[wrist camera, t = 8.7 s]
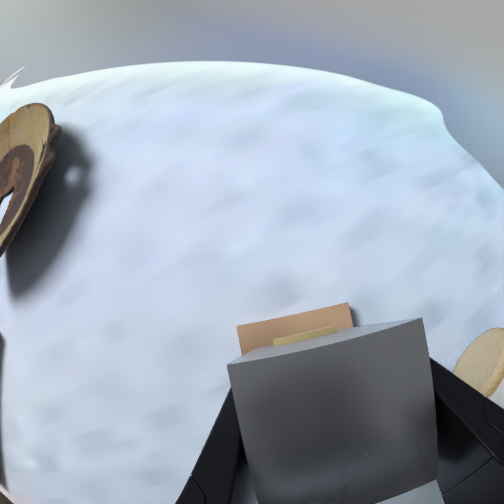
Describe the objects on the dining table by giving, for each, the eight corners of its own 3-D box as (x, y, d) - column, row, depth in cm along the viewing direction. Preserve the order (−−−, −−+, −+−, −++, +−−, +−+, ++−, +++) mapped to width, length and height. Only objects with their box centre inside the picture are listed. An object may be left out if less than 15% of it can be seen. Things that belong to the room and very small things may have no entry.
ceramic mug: (469, 323, 20) (527, 316, 12) (517, 361, 18) (570, 362, 11) (407, 434, 18) (449, 468, 11) (462, 460, 16) (507, 489, 9)
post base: (363, 404, 19) (380, 418, 15) (258, 427, 20) (254, 447, 15) (344, 303, 21) (358, 297, 17) (238, 326, 22) (229, 324, 18)
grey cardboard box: (363, 417, 14) (437, 485, 5) (274, 438, 14) (265, 533, 5) (346, 322, 15) (419, 306, 7) (255, 342, 15) (224, 352, 7)
